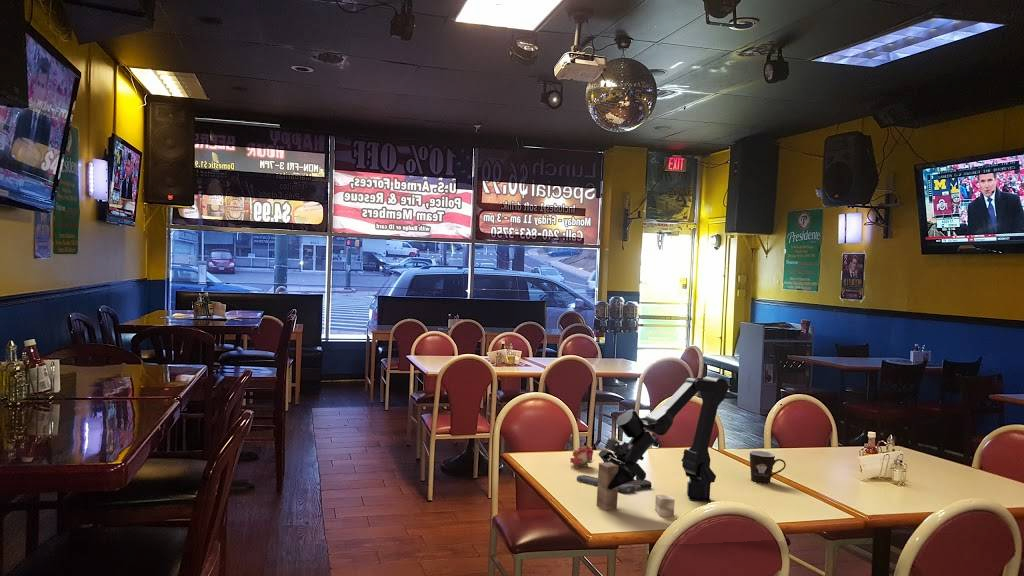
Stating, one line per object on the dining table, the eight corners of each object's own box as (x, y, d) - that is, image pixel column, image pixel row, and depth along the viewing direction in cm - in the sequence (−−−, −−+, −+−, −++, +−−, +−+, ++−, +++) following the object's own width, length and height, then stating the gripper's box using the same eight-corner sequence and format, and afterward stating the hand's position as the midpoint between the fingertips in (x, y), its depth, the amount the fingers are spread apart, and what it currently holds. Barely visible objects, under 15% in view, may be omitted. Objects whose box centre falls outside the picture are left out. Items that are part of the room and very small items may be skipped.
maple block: (669, 511, 220) (670, 495, 220) (673, 516, 215) (674, 499, 215) (654, 511, 219) (655, 494, 219) (659, 516, 215) (660, 499, 215)
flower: (603, 463, 267) (594, 443, 271) (592, 462, 260) (583, 441, 263) (581, 474, 271) (573, 454, 274) (570, 474, 263) (561, 453, 266)
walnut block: (607, 504, 223) (610, 462, 223) (616, 509, 218) (619, 466, 218) (596, 505, 221) (598, 462, 221) (605, 510, 217) (607, 467, 217)
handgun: (598, 468, 259) (575, 474, 248) (654, 480, 244) (632, 488, 234) (597, 476, 259) (575, 482, 248) (653, 489, 244) (632, 496, 234)
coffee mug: (743, 480, 260) (745, 452, 260) (754, 476, 266) (755, 449, 266) (775, 488, 252) (777, 459, 252) (785, 484, 258) (787, 456, 258)
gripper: (605, 423, 230) (572, 460, 225) (639, 436, 213) (605, 476, 208) (624, 447, 233) (593, 484, 229) (660, 461, 216) (627, 502, 212)
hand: (603, 486), depth 219 cm, fingers closed on walnut block, 5 cm apart
